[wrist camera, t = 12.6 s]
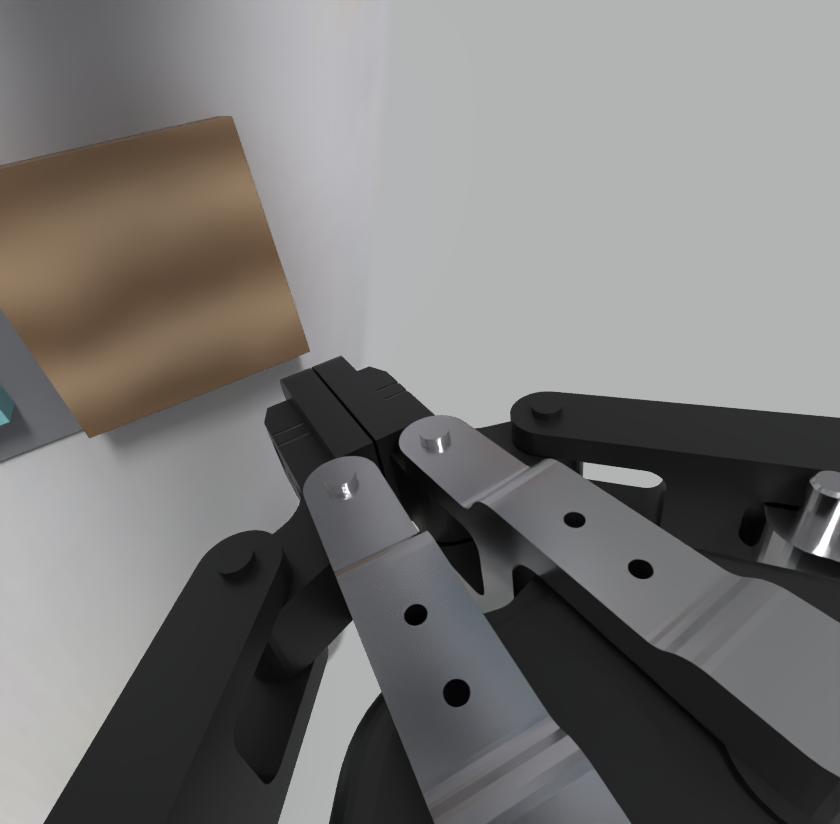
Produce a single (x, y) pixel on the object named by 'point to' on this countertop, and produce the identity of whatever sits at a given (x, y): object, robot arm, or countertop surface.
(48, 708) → the countertop surface
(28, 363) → the mat
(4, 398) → the teal foam pad
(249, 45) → the countertop surface
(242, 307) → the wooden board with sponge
